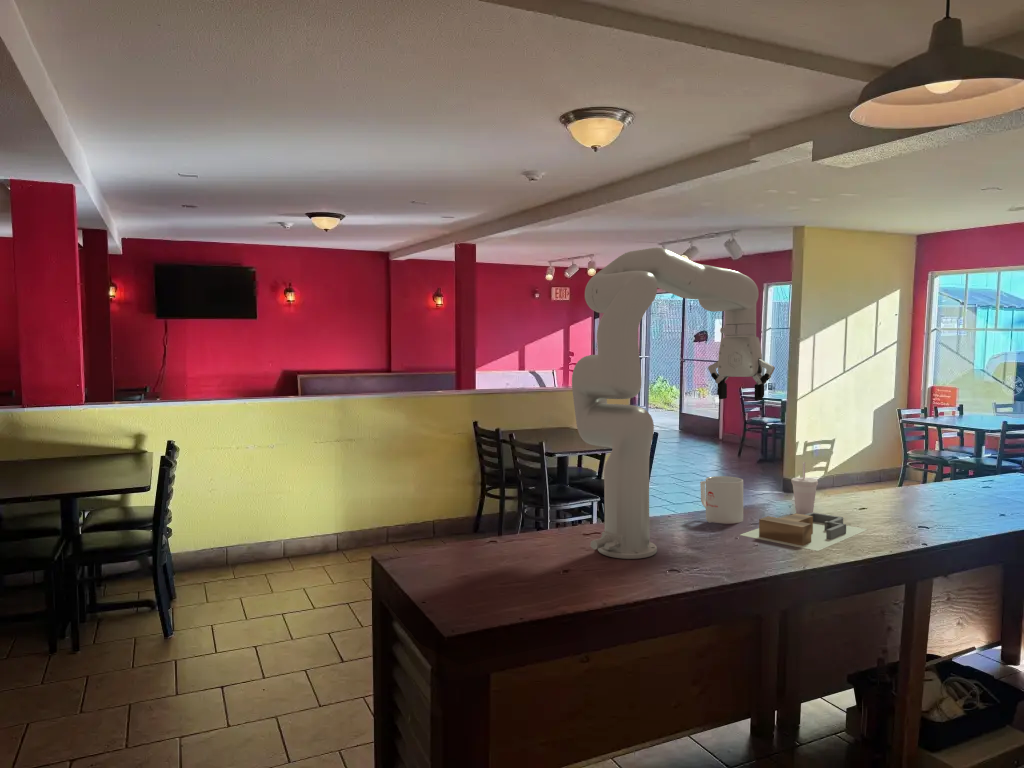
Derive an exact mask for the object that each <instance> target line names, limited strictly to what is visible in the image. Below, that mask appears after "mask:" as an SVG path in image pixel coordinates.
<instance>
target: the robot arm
mask: <svg viewBox="0 0 1024 768" xmlns="http://www.w3.org/2000/svg"><path fill="white" fill-rule="evenodd" d="M658 289H659V290H662V291H665V292H667V293H669V294H672V295H674V296H676V297H679V298H681V299H687V300H697V301H698V303H699V305H700V306H701V308H703V309H704V310H705V311H708V312H715V313H716V312H717V313H718V312H724V325H723V326H724V327H720V330H719V331H720V333H721V334H724V337H721V340H720V344H719V351H718V359H717V361H716V362H714V363H712V364H710V365H709V366H707V369H708V371H709V373H710V377H712V379H713V380H714V381H715V383H716V384H717V395H718V399H719V400H724V399H727V398H728V394H727V393H728V390H727V389H728V388H727V387H728V383H727V382H726V381H727V380H728V379H729V377H731V378H735V377H737V378H740V377H741V378H743V377H745V378H748V377H750V378H752V379H753V381H755V382H756V384H754V400H755V401H762V400H763V398H764V396H765V384H767V382H768V381H769V379H770V378H772V375H773V373H774V371H775V369H776V367H775V366H774V365H772V364H770V363H769V362H766V361H765V360H763V356H762V348H761V342H760V338H759V336H757V303H758V300H759V294H760V293H759V288H758V285H757V284H756V282H755V281H754V280H753V279H752V278H751V277H749V276H748V275H745V274H743V273H741V272H739V271H736V270H732V269H730V268H729V269H728V268H724V267H717V266H713V265H708V264H701V263H698V262H694V261H692V260H690V259H688V258H685V257H683V256H681V255H680V254H677V253H675V252H673V251H671V250H669V249H666V248H664V247H650V248H643V249H638V250H632V251H627V252H625V253H623V254H621V255H620V256H618V257H617V258H615V259H614V260H612V261H610V263H608V264H607V265H605V266H604V267H603V268H602V269H601V270H599V271H598V272H597V273H595V274H594V275H593V276H592V277H591V278H590V279H589V280H588V282H587V284H586V285H585V289H584V300H585V302H586V305H587V306H588V307H589V309H590V310H592V311H594V312H596V313H598V314H602V317H601V318H600V320H599V322H598V326H597V330H596V342H597V343H596V344H597V354H590V355H586V356H583V357H582V358H580V359H579V360H578V361H577V362H576V364H575V365H574V368H573V371H572V374H571V376H572V377H571V389H572V391H571V392H572V398H573V399H572V400H573V405H574V406H573V407H574V408H573V409H574V415H575V422H576V423H575V424H576V428H577V432H578V434H579V437H580V438H581V439H582V441H583V442H584V443H585V444H588V445H591V446H596V447H603V448H610V449H612V450H611V452H610V454H609V456H608V458H607V460H606V461H605V465H604V471H603V472H604V474H603V475H604V476H603V481H604V482H603V483H604V485H603V486H604V493H603V495H604V497H603V498H604V531H602V532H601V537H600V538H596V539H594V540H591V541H590V548H591V549H592V550H597V551H598V552H599V554H601V555H603V556H606V557H611V558H616V559H623V560H635V559H638V560H639V559H645V558H650V557H652V556H654V555H656V554H657V551H658V548H657V545H656V544H655V543H653V542H651V541H650V454H651V448H652V442H653V438H654V432H655V431H654V430H655V426H654V420H653V417H652V415H651V414H650V412H648V411H647V410H646V409H644V408H643V407H640V406H637V405H633V404H623V403H622V404H619V403H608V399H609V400H628V399H633V398H634V397H636V396H637V395H639V393H640V391H641V388H642V387H641V386H642V369H641V361H640V352H639V351H640V349H639V336H638V335H639V334H638V333H639V327H640V324H641V320H642V319H643V317H644V316H645V314H646V312H647V310H649V307H650V306H651V305H652V304H653V302H654V301H655V299H656V296H657V295H658V294H657V293H658ZM763 369H765V373H764V374H763V375H762V373H763Z"/></svg>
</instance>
